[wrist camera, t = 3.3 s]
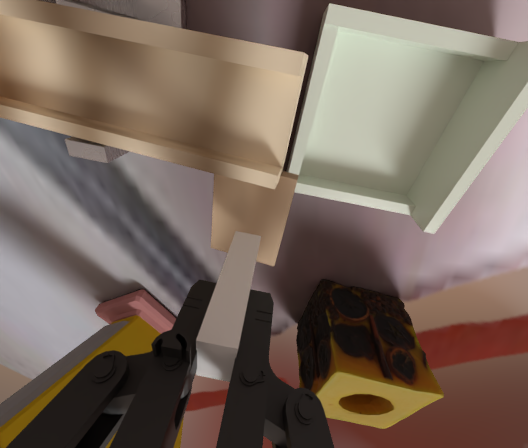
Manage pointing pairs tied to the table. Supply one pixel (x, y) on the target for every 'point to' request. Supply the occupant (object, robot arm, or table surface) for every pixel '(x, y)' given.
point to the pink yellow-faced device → (90, 357)
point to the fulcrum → (135, 7)
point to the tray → (404, 112)
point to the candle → (363, 357)
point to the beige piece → (162, 102)
